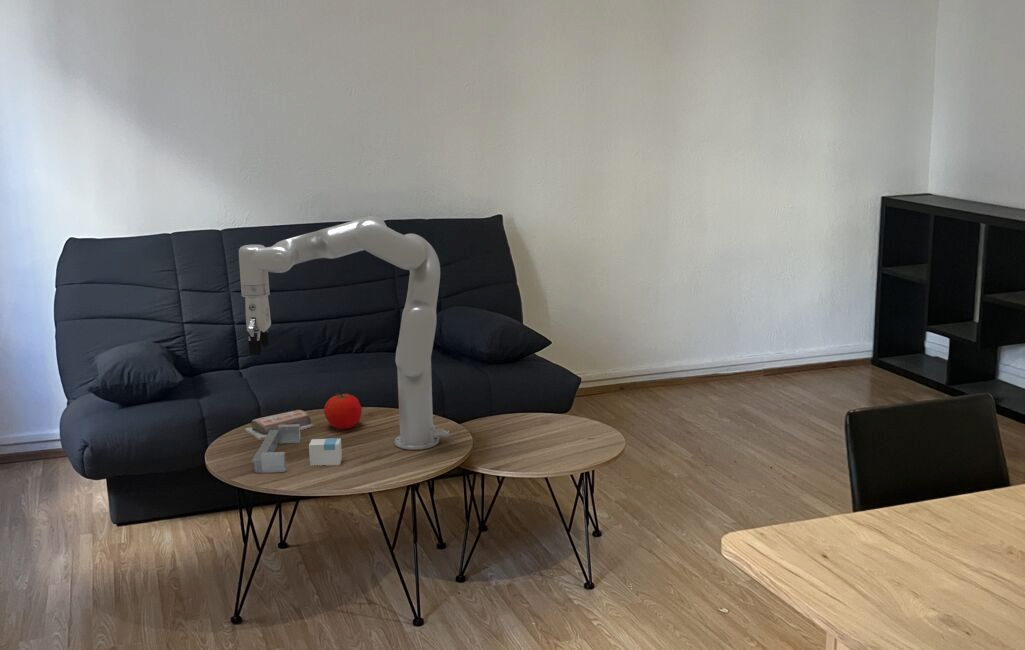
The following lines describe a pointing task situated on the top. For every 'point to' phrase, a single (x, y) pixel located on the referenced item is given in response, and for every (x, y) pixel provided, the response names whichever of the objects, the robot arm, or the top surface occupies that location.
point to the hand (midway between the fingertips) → (259, 350)
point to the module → (325, 451)
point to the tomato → (343, 411)
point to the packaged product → (278, 423)
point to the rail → (266, 456)
